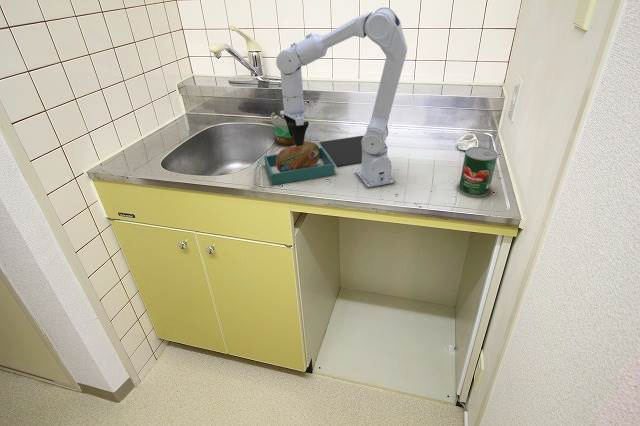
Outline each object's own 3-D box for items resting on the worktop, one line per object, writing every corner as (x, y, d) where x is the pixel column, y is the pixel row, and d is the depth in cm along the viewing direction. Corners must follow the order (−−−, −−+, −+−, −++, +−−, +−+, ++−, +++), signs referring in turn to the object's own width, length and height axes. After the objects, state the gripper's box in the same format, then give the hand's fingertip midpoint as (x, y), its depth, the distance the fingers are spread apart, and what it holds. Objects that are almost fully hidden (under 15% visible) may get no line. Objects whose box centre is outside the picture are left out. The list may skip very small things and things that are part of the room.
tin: (281, 179, 114) (278, 153, 109) (275, 175, 116) (272, 150, 111) (321, 164, 121) (320, 140, 116) (315, 161, 123) (314, 137, 118)
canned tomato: (460, 196, 102) (467, 158, 96) (456, 181, 108) (463, 146, 102) (491, 197, 100) (500, 160, 94) (486, 183, 107) (494, 147, 101)
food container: (266, 144, 136) (262, 117, 131) (275, 137, 141) (272, 111, 135) (295, 149, 131) (293, 121, 126) (304, 143, 136) (302, 115, 130)
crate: (334, 174, 115) (334, 164, 113) (272, 185, 111) (270, 174, 109) (322, 156, 125) (322, 147, 124) (265, 166, 122) (264, 156, 120)
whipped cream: (478, 156, 123) (482, 143, 120) (457, 153, 124) (460, 139, 121) (477, 144, 129) (481, 131, 126) (456, 141, 130) (460, 128, 127)
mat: (384, 159, 122) (384, 158, 122) (337, 166, 119) (337, 165, 119) (362, 136, 138) (362, 135, 138) (320, 143, 135) (320, 141, 135)
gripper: (274, 89, 110) (279, 133, 118) (283, 104, 99) (288, 152, 106) (298, 86, 112) (301, 130, 119) (309, 100, 100) (312, 148, 108)
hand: (296, 140), depth 113 cm, fingers open, 7 cm apart
